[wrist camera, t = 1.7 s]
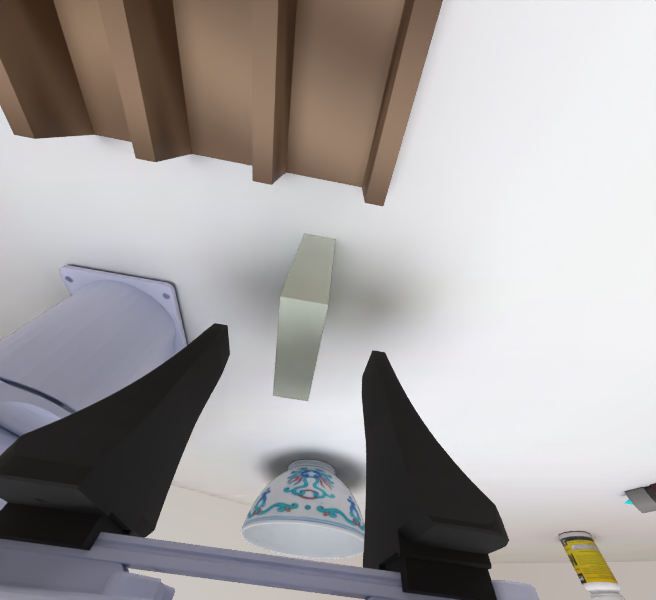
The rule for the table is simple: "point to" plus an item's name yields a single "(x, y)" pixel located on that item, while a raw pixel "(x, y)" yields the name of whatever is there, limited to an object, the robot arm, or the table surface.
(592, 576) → the supplement bottle
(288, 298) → the pale green box
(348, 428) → the table surface
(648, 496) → the toy gun
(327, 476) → the chinaware
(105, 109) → the dish rack
